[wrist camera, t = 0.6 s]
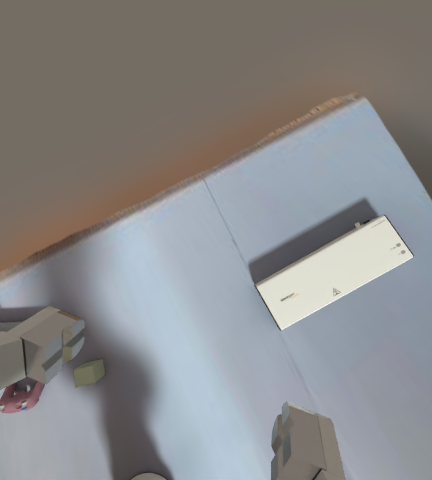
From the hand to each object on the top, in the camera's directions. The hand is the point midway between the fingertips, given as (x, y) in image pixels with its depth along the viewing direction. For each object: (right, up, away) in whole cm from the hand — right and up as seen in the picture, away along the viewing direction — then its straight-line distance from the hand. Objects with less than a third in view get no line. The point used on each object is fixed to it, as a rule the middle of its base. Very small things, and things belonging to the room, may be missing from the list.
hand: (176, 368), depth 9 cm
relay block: (-30, -29, +52) cm, 67 cm away
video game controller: (-48, -35, +53) cm, 79 cm away
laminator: (+28, -3, +50) cm, 58 cm away
